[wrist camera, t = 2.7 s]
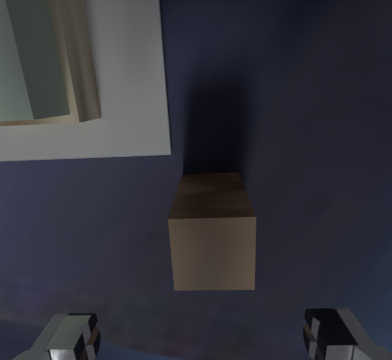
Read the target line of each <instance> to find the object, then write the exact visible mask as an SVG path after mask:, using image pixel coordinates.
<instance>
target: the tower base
mask: <svg viewBox="0 0 392 360" xmlns="http://www.w3.org/2000/svg"><path fill="white" fill-rule="evenodd" d="M48 2H49V7H50V13H51V18H52V23H53V28H54V33H55V38H56V44H57V49H58V54H59V59H60V64H61V70H62V75H63V80H64V85H65V90H66V95H67V101H68V106H69V111H70V115H65V116H57V117H50V118H43V119H36V120H20V121H0V126H18V125H39V124H60V123H80V122H85V121H89V120H94V119H99V118H102V117H101V111H100V104H99V98H98V91H97V85H96V79H95V72H94V66H93V60H92V53H91V47H90V41H89V34H88V28H87V22H86V15H85V9H84V2H83V0H48Z"/></svg>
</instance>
